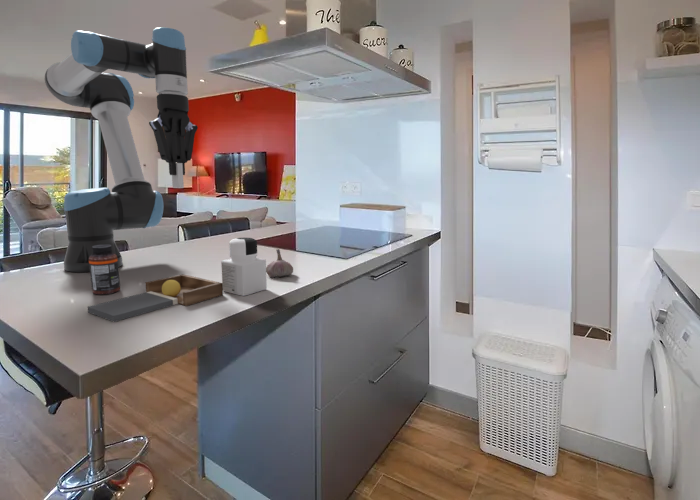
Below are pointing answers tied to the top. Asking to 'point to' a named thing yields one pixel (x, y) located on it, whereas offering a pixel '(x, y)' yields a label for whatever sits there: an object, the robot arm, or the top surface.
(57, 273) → the top surface
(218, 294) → the tray
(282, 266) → the garlic bulb
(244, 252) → the container
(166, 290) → the ball
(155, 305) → the grey flat slab
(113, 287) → the supplement bottle
